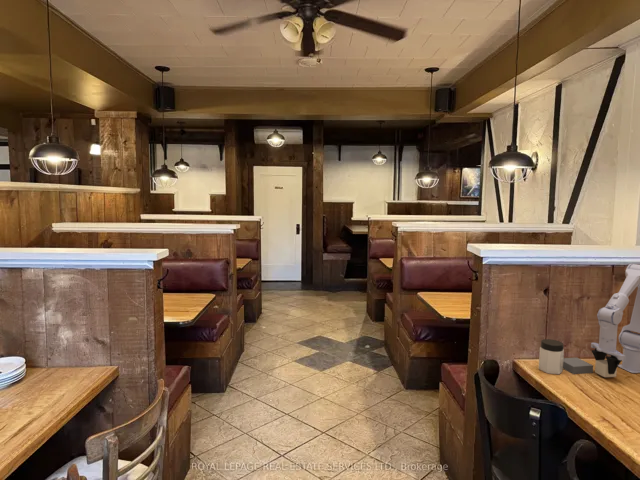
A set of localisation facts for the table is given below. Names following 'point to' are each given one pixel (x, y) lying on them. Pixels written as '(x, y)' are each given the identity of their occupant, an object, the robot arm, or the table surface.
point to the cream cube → (603, 368)
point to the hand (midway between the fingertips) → (605, 370)
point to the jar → (551, 356)
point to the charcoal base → (577, 366)
